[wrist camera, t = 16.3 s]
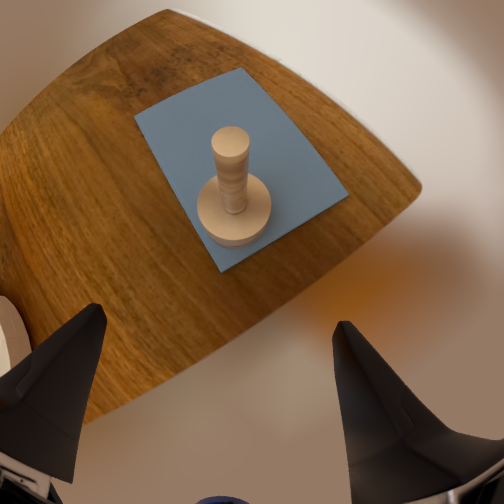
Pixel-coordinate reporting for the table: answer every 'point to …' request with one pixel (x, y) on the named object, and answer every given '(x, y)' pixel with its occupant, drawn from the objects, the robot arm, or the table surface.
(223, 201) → the wooden stamp
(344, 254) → the table surface
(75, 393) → the robot arm
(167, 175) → the mat
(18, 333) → the bowl
